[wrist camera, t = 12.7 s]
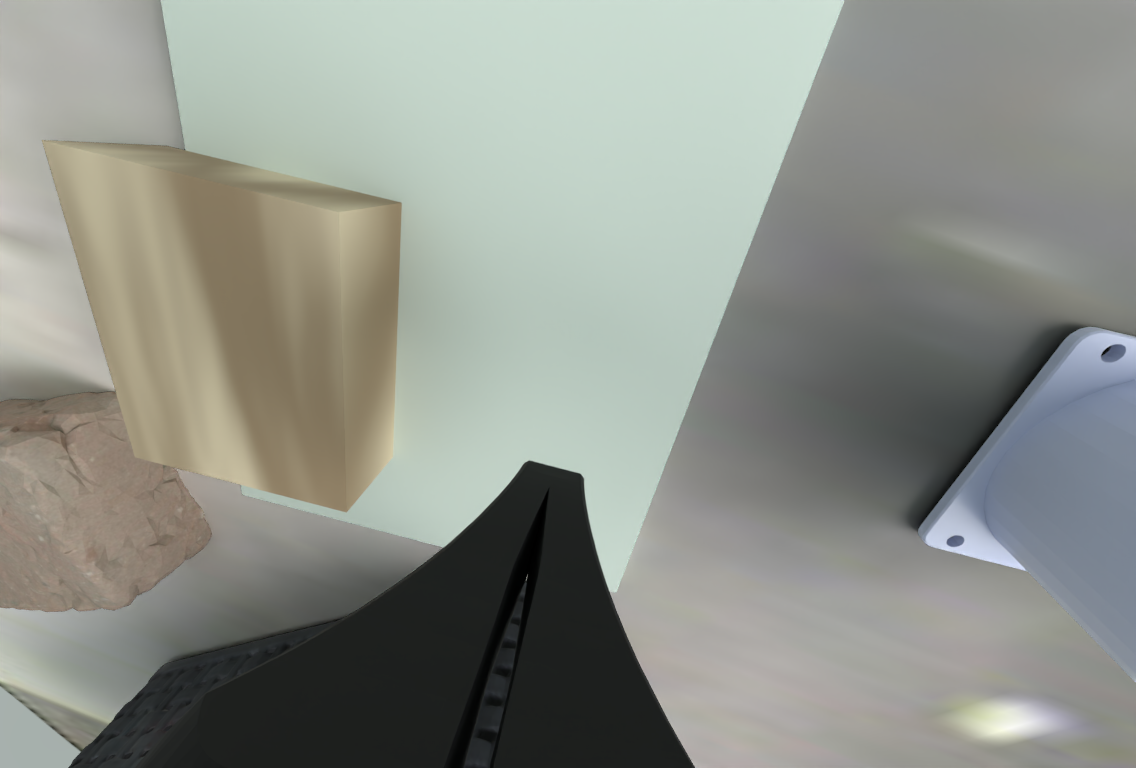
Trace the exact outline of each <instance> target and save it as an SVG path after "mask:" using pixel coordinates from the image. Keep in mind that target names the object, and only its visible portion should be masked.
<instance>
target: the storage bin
mask: <svg viewBox="0 0 1136 768" xmlns="http://www.w3.org/2000/svg"><path fill="white" fill-rule="evenodd" d="M525 589H526V583H524V586H523V588H522V591H521V594H520V596H519V599H518V602H517V605H516V607H515V610H514V613H513V615H512V618H511V621H510V624H509V626H508V629H507V632H506V634H505V637H504V640H503V642H502V645H501V648H500V651H499V653H498V656H497V659H496V661H495V664H494V667H493V670H492V673H491V676H490V679H489V682H488V685H487V688H486V691H485V695H484V698H483V702H482V705H481V709H480V712H479V716H478V719H477V723H476V726H475V730H474V734H473V737H472V741H471V744H470V748H469V751H468V755H467V759H466V762H465V766H464V768H489V767H490V763H491V758H492V754H493V750H494V746H495V742H496V738H497V734H498V730H499V726H500V722H501V718H502V714H503V710H504V706H505V702H506V698H507V693H508V688H509V683H510V678H511V673H512V667H513V661H514V655H515V649H516V643H517V637H518V631H519V625H520V619H521V613H522V607H523V601H524V595H525ZM338 621H339V620H338ZM338 621H334V622H330V623H326V624H322V625H318V626H314V627H310V628H306V629H302V630H298V631H293V632H290V633H286V634H282V635H278V636H274V637H269V638H265V639H262V640H258V641H254V642H250V643H246V644H242V645H238V646H234V647H230V648H226V649H222V650H218V651H214V652H210V653H206V654H202V655H198V656H194V657H190V658H186V659H182V660H177V661H173V662H169V663H167V664H165V665H163V666H162V667H161V668H160V669H159V670H158V671H157V672H156V673H155V674H154V675H153V676H152V677H151V678H150V680H149V681H148V684H147V685H146V686H145V687H144V688H143V689H142V690H141V691H140V692H139V693H138V694H137V695H136V696H135V697H134V698H133V699H132V700H131V701H130V702H128V703H127V704H126V705H125V706H124V707H123V708H122V709H121V710H120V711H119V712H118V714H117V715H116V716H115V717H114V720H113V721H112V722H111V723H110V724H109V725H108V726H107V727H106V728H105V729H104V730H103V731H102V732H101V733H100V734H99V736H98V737H97V738H96V739H95V740H94V741H93V742H92V743H91V744H89V745H88V746H86V747H85V748H84V749H83V750H82V751H81V753H80V754H79V755H78V756H77V757H76V758H75V759H74V760H73V762H72V764H71V765H70V766H69V768H135V767H136V766H137V765H138V763H139V762H140V761H141V760H142V759H143V758H144V756H145V755H146V754H147V753H148V752H149V750H150V749H151V748H152V747H153V746H154V745H155V744H156V743H157V742H158V740H159V739H160V738H161V737H162V736H163V735H164V734H165V733H166V732H167V731H168V730H169V729H170V728H171V727H172V726H173V725H174V724H175V723H176V722H177V721H178V720H179V719H180V718H181V717H182V716H183V715H184V714H185V713H186V712H187V711H188V710H189V709H190V708H191V707H192V706H193V705H194V704H195V703H196V702H197V701H198V700H199V699H200V698H201V697H202V696H203V695H204V694H205V693H206V692H208V691H210V690H212V689H213V688H215V687H217V686H220V685H222V684H224V683H225V682H227V681H229V680H231V679H233V678H235V677H237V676H239V675H241V674H243V673H245V672H247V671H249V670H251V669H253V668H255V667H257V666H259V665H260V664H262V663H264V662H266V661H268V660H270V659H272V658H274V657H276V656H278V655H280V654H282V653H284V652H286V651H288V650H289V649H291V648H293V647H295V646H297V645H299V644H300V643H302V642H304V641H306V640H307V639H309V638H311V637H312V636H314V635H316V634H318V633H319V632H321V631H323V630H324V629H326V628H328V627H329V626H331V625H333V624H334V623H336V622H338Z"/></svg>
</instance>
